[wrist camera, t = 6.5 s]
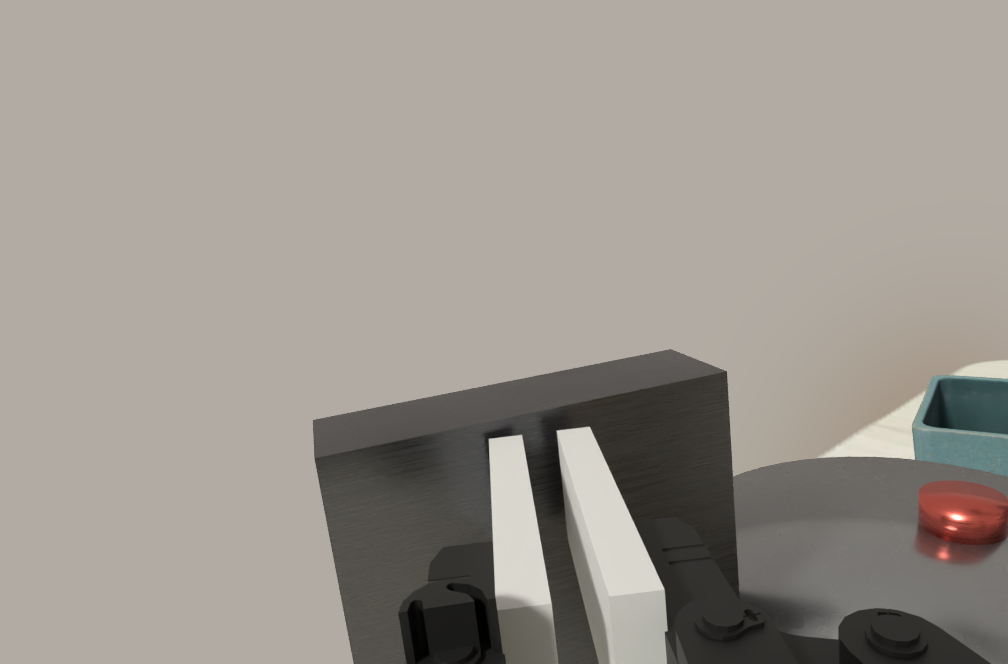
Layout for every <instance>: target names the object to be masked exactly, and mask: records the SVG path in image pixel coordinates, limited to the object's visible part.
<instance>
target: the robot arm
mask: <svg viewBox="0 0 1008 664" xmlns="http://www.w3.org/2000/svg"><path fill="white" fill-rule="evenodd" d="M557 439H558V449H559V458H560V468H561V478H562V487H563V497H564V506H565V516H566V525H567V535H568V542H569V546H570V550H571V554H572V558H573V562H574V566H575V570H576V574H577V578H578V582H579V586H580V590H581V594H582V598H583V602H584V606H585V610H586V614H587V618H588V622H589V626H590V630H591V634H592V638H593V642H594V646H595V650H596V654H597V658H598V661H599V664H991V663H990V662H988V661H987V660H985V659H984V658H982V657H981V656H980V655H978V654H977V653H975V652H974V651H973V650H971V649H970V648H968V647H967V646H965V645H964V644H963V643H961V642H960V641H958V640H957V639H955V638H954V637H953V636H951V635H950V634H948V633H947V632H946V631H944V630H943V629H941V628H940V627H938V626H937V625H935V624H933V623H931V622H929V621H927V620H925V619H923V618H922V617H920V616H916V615H913V614H910V613H906V612H903V611H899V610H894V609H885V608H873V609H865V610H858V611H856V612H854V613H852V614H850V615H848V616H845V617H844V619H843V620H842V622H841V623H840V625H839V626H838V639H827V638H816V637H805V636H799V635H793V634H788V633H784V632H781V631H778V630H777V628H776V627H775V625H774V623H773V622H772V620H771V619H770V618H769V617H768V616H767V615H766V614H765V613H764V612H763V611H762V610H761V609H759V608H757V607H756V606H754V605H752V604H750V603H748V602H745V601H741V600H739V599H738V598H737V596H736V594H735V593H734V591H733V590H732V588H731V586H730V585H729V583H728V582H727V580H726V578H725V577H724V575H723V574H722V572H721V570H720V569H719V567H718V566H717V564H716V562H715V561H714V560H712V556H711V554H710V553H709V551H708V550H707V548H706V547H704V543H703V542H702V540H701V539H700V537H699V535H698V534H697V532H696V531H695V529H694V528H693V527H691V526H689V525H688V524H686V523H684V522H683V521H681V520H680V519H678V518H676V517H667V518H659V519H651V520H643V521H634V522H633V520H632V518H631V515H630V513H629V511H628V509H627V507H626V504H625V502H624V500H623V498H622V496H621V494H620V491H619V489H618V487H617V485H616V483H615V481H614V478H613V476H612V474H611V472H610V470H609V467H608V465H607V463H606V461H605V459H604V457H603V454H602V452H601V450H600V448H599V446H598V444H597V441H596V439H595V437H594V435H593V433H592V430H591V428H590V427H583V428H575V429H566V430H558V431H557ZM489 457H490V481H491V505H492V529H493V541H488V542H480V543H472V544H464V545H456V546H448V547H443V548H442V549H441V550H440V551H439V552H438V554H437V555H436V556H435V557H434V559H433V560H432V561H431V562H430V566H429V574H428V584H427V585H425V586H423V587H421V588H419V589H417V590H415V591H414V592H413V593H412V594H410V595H409V596H408V597H407V598H406V599H405V600H404V601H403V602H402V605H401V607H400V609H399V612H398V615H399V621H400V628H401V634H402V640H403V646H404V652H405V658H406V664H558V656H557V647H556V638H555V629H554V620H553V611H552V603H551V597H550V591H549V586H548V580H547V574H546V569H545V563H544V557H543V552H542V546H541V540H540V535H539V529H538V523H537V517H536V512H535V506H534V500H533V495H532V489H531V483H530V478H529V472H528V466H527V461H526V455H525V449H524V443H523V438H522V435H517V436H508V437H500V438H492V439H489Z"/></svg>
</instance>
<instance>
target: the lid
mask: <svg viewBox="0 0 1008 664" xmlns="http://www.w3.org/2000/svg"><path fill="white" fill-rule="evenodd" d="M727 385H728V383H727V371H724V370H722V369H719V368H717V367H714V366H712V365H709V364H706V363H704V362H702V361H699V360H696V359H694V358H691V357H689V356H686V355H684V354H681V353H679V352H676V351H673V350H671V349H670V350H665V351H660V352H655V353H650V354H645V355H640V356H635V357H630V358H625V359H620V360H615V361H609V362H605V363H600V364H594V365H589V366H584V367H580V368H574V369H570V370H564V371H559V372H554V373H549V374H544V375H539V376H534V377H529V378H524V379H519V380H514V381H508V382H503V383H498V384H494V385H488V386H483V387H478V388H473V389H468V390H463V391H458V392H453V393H448V394H443V395H438V396H433V397H428V398H422V399H417V400H413V401H408V402H403V403H397V404H392V405H387V406H382V407H377V408H372V409H367V410H362V411H357V412H352V413H347V414H342V415H337V416H331V417H327V418H322V419H317V420H313V433H314V455H315V463H316V468H317V473H318V478H319V484H320V489H321V494H322V499H323V505H324V510H325V515H326V521H327V526H328V531H329V536H330V542H331V547H332V552H333V557H334V562H335V568H336V573H337V577H338V583H339V589H340V594H341V599H342V604H343V609H344V615H345V620H346V625H347V630H348V636H349V641H350V646H351V651H352V657H353V662H354V664H406V658H405V652H404V646H403V640H402V634H401V628H400V621H399V615H398V612H399V609H400V607H401V605H402V602H403V601H404V600H405V599H406V598H407V597H408V596H409V595H410V594H412V593H413V592H414V591H415V590H417V589H419V588H421V587H423V586H425V585H427V584H428V574H429V566H430V562H431V561H432V560H433V559H434V557H435V556H436V555H437V554H438V552H439V551H440V550H441V549H442V548H443V547H448V546H456V545H464V544H472V543H480V542H488V541H493V529H492V505H491V481H490V457H489V439H492V438H500V437H508V436H517V435H522V438H523V443H524V449H525V455H526V461H527V466H528V472H529V478H530V483H531V489H532V495H533V500H534V506H535V512H536V517H537V523H538V529H539V535H540V540H541V546H542V552H543V557H544V563H545V569H546V574H547V580H548V586H549V591H550V597H551V603H552V611H553V620H554V629H555V638H556V647H557V656H558V664H599V661H598V658H597V654H596V650H595V646H594V642H593V638H592V634H591V630H590V626H589V622H588V618H587V614H586V610H585V606H584V602H583V598H582V594H581V590H580V586H579V582H578V578H577V574H576V570H575V566H574V562H573V558H572V554H571V550H570V546H569V542H568V535H567V525H566V516H565V506H564V497H563V487H562V478H561V468H560V458H559V449H558V439H557V431H558V430H566V429H575V428H583V427H590V428H591V430H592V433H593V435H594V437H595V439H596V441H597V444H598V446H599V448H600V450H601V452H602V454H603V457H604V459H605V461H606V463H607V465H608V467H609V470H610V472H611V474H612V476H613V478H614V481H615V483H616V485H617V487H618V489H619V491H620V494H621V496H622V498H623V500H624V502H625V504H626V507H627V509H628V511H629V513H630V515H631V518H632V520H633V522H634V521H643V520H651V519H659V518H667V517H676V518H678V519H680V520H681V521H683V522H684V523H686V524H688V525H689V526H691V527H693V528H694V529H695V531H696V532H697V534H698V535H699V537H700V539H701V540H702V542H703V543H704V547H706V548H707V550H708V551H709V553H710V554H711V556H712V560H714V561H715V562H716V564H717V566H718V567H719V569H720V570H721V572H722V574H723V575H724V577H725V578H726V580H727V582H728V583H729V585H730V586H731V588H732V590H733V591H734V593H735V594H736V596H737V598H738V599H739V600H741V601H745V602H748V603H750V604H752V605H754V606H756V607H757V608H759V609H761V610H762V611H763V612H764V613H765V614H766V615H767V616H768V617H769V618H770V619H771V620H772V622H773V623H774V625H775V627H776V628H777V630H778V631H781V632H784V633H788V634H793V635H799V636H805V637H816V638H827V639H838V626H839V625H840V623H841V622H842V620H843V619H844V617H845V616H848V615H850V614H852V613H854V612H856V611H858V610H865V609H873V608H885V609H894V610H899V611H903V612H906V613H910V614H913V615H916V616H920V617H922V618H923V619H925V620H927V621H929V622H931V623H933V624H935V625H937V626H938V627H940V628H941V629H943V630H944V631H946V632H947V633H948V634H950V635H951V636H953V637H954V638H955V639H957V640H958V641H960V642H961V643H963V644H964V645H965V646H967V647H968V648H970V649H971V650H973V651H974V652H975V653H977V654H978V655H980V656H981V657H982V658H984V659H985V660H987V661H988V662H990V663H991V664H1008V477H1007V476H1003V475H998V474H994V473H990V472H986V471H982V470H977V469H971V468H966V467H961V466H956V465H950V464H943V463H936V462H929V461H920V460H910V459H900V458H883V457H832V458H818V459H808V460H799V461H792V462H785V463H780V464H775V465H771V466H766V467H761V468H758V469H755V470H752V471H748V472H744V473H742V474H739V475H736V476H734V477H733V473H732V472H733V471H732V453H731V438H730V437H731V436H730V419H729V401H728V386H727Z"/></svg>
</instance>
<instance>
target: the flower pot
mask: <svg viewBox="0 0 1008 664" xmlns="http://www.w3.org/2000/svg"><path fill="white" fill-rule="evenodd" d="M912 432H913V442H914V452H915V460H920V461H929V462H936V463H943V464H950V465H956V466H961V467H966V468H971V469H977V470H982V471H986V472H990V473H994V474H998V475H1003V476H1007V477H1008V379H1002V378H985V377H968V376H954V375H937V376H934V377H932V378H931V379H930V381H929V384H928V387H927V390H926V393H925V396H924V398H923V401H922V404H921V405H920V408H919V410H918V412H917V415H916V417H915V419H914V421H913V424H912Z"/></svg>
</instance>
